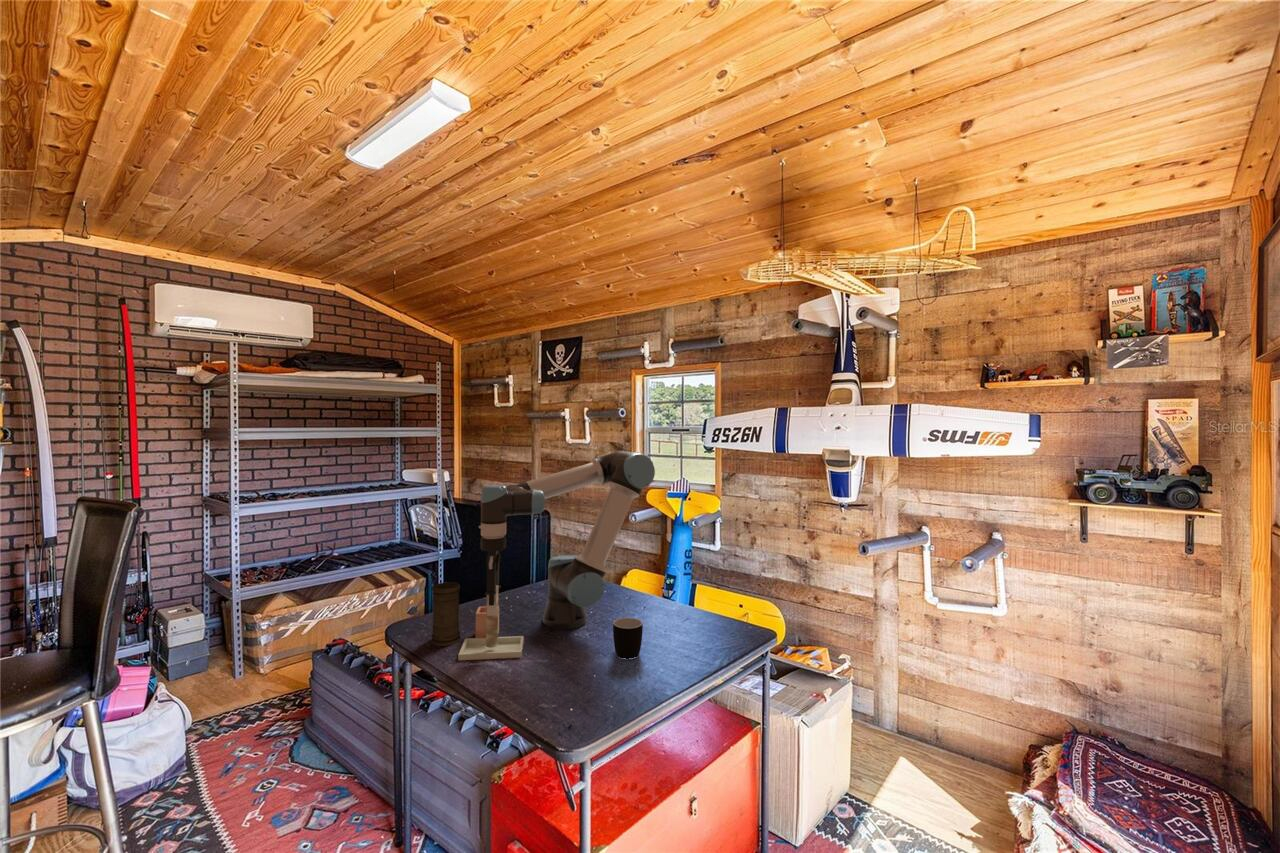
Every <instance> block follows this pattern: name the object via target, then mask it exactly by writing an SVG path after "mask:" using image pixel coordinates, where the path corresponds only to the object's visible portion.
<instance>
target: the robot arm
mask: <svg viewBox="0 0 1280 853" xmlns="http://www.w3.org/2000/svg"><path fill="white" fill-rule="evenodd" d="M655 474H656V470H655V465H654V462H653V461H652V459H651V458H650V457H649V456H648V455H646V454H644V453H642V452H641V453H640V452H638V451H637V452H636V451H635V452H633V451H625V450H619V451H614V452H611V453H608V454H604V455H601V456H600V457H596V458H592V459H591V460H590V462H589V463H585V464H582V465H579V466H575V467H572V468H569V469H566V470H565V469H564V470H561V471H559V472H555V473H552V474H548V475H545V476H542V477H538V478H535V479H530V480H528V481H525V482H521V483H518V484H507V485H504V484H487V485H484V486H482V488H481V495H480V525H478V529H480V536H481V538H480V545H479V546H480V550H481V551H484V552H488V554H486V556H485V566H486V567H485V568H486V591H485V592H484V596H486V606H487V616H496V612H497V593H496V585H498V589H501V588H502V587H501V585H499V584H500V562H501V553H500V551H503V550H506V548H507V537H506V535H507V517H508V516H509V517H510V516H523V515H535V514H537V515H538V514H541V513H543V512H544V511H545V508H546V500H547V499H549V498H553V497H556V496H559V495H563V494H566V493H569V492H572V491H575V490H576V491H577V490H578V489H582V488H585V487H588V486H591V485H594V484H597V485H600V486H601V485H604V484H608V485H609V488H610V490H609V492H608V493H607V496H606V499H605V500H604V503H603V505H602V507H601V509H600V511H599V514H598V516H597V518H596V520H595V522H594V525H593V527H592V529H591V531H590V534H589V536H588V538H587V540H586V543H585V545H584V547H583V548H582V551H581V553H580V554H579V555H576V554H575V555H573V554H571V555H570V554H569V555H558V556H554V557H551V558H550V559H549V560H548V567H547V572H548V573H547V574H548V575H547V577H548V578H547V582H548V583H547V585H548V586H547V590H548V591H547V603H546V605H545V609H544V611H543V616H542V623H543V625H545V626H546V627H549V628H550V629H553V630H572V629H576V628H580V627H582V626H584V625H585V624H586V622H587V612H586V610H585V608H588V607H591V606H593V605H595V604H597V603H598V602H600V600H601V598H602V597H603V596H604V593H605V588H606V587H605V581H604V578H605V575H606V573H607V569H606V566H605V565H606V562H607V559H608V557H609V556H610V553H611V550H612V548H613V545H614V544H615V541H616V539H617V537H618V535H619V532H620V530H621V529H622V525H624V524H623V523H624V521H625V519H626V516H627V514H628V512H629V510H630V507H631V506H632V503H633V501H634V499H636V498H638V497H640V496H641V493H642V491H643V489H644V488H647V487H648V486H650V485H651V484H652V482H653V481H654V478H655Z"/></svg>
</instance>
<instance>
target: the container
mask: <svg viewBox="0 0 1280 853" xmlns="http://www.w3.org/2000/svg"><path fill="white" fill-rule="evenodd" d="M460 589H461V585H460V584H459V583H458V582H454V581H453V582H452V581H449V582H448V581H447V582H441V583H436V584H434V585H432V588H431V590H432V594H433V598H432V602H433V603H432V606H433V608H432V609H433V612H432V614H433V616H432V617H433V618H432V619H433V620H432V622H433V623H432V634H431V640H430V643H431V644H432V645H434V646H439V647H446V646H451V645H455V644H458V643H459V642H460V641H461V639H462V638H461V631H460V620H459V608H460V607H459V606H460V604H459V603H460V602H459V601H460V596H459V594H460V593H459V592H460Z"/></svg>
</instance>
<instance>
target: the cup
mask: <svg viewBox="0 0 1280 853" xmlns="http://www.w3.org/2000/svg"><path fill="white" fill-rule="evenodd" d="M486 614H487V605H486V606H478V608H477V610H476V612H475V638H486ZM499 633H500V605H498V634H499Z"/></svg>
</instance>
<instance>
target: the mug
mask: <svg viewBox="0 0 1280 853" xmlns="http://www.w3.org/2000/svg"><path fill="white" fill-rule="evenodd" d="M643 624H644V623H643V621H642V620H641V619H639V618H636V617H620V618H617V619H615V620H614V621H613V623H612V632H613V633H612V635H613V645H614V652H615V655H616V657H617V656H618V657H620V658H626V659H629V658H634V657H637V656H638V657H639V655H640V653H641V648H642V642H643V630H644V629H643V628H644V625H643ZM618 657H617V658H618ZM638 657H637V658H638Z"/></svg>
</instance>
